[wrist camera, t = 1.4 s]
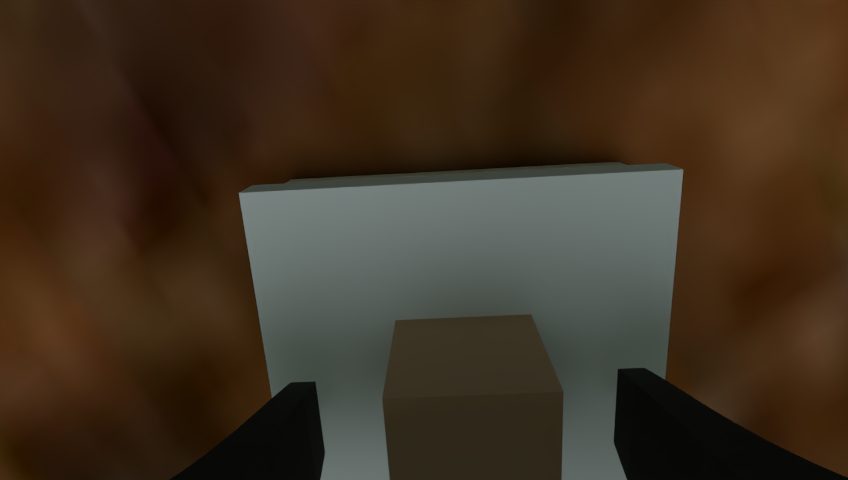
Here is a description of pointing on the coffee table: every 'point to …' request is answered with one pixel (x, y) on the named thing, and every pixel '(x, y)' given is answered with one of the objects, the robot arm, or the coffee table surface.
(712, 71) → the coffee table surface
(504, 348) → the lid
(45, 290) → the coffee table surface
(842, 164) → the coffee table surface
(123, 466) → the coffee table surface
